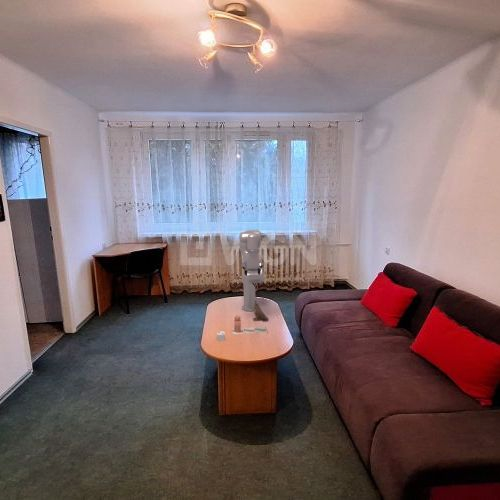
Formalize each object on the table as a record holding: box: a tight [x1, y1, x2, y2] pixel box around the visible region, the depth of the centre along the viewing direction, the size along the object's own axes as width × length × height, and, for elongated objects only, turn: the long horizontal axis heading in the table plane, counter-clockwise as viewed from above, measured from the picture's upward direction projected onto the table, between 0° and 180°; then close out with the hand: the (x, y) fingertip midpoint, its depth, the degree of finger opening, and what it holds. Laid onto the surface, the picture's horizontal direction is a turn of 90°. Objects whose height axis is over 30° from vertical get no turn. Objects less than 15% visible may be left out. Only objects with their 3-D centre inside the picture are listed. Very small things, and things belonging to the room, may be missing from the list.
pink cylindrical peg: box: [233, 314, 242, 333], centre depth 221 cm, size 4×4×12 cm
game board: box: [231, 326, 269, 335], centre depth 224 cm, size 11×25×1 cm, turn 98°
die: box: [216, 330, 226, 342], centre depth 211 cm, size 5×5×5 cm
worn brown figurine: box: [252, 299, 269, 323], centre depth 240 cm, size 12×6×18 cm, turn 94°
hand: (252, 274), depth 233 cm, fingers open, 9 cm apart
